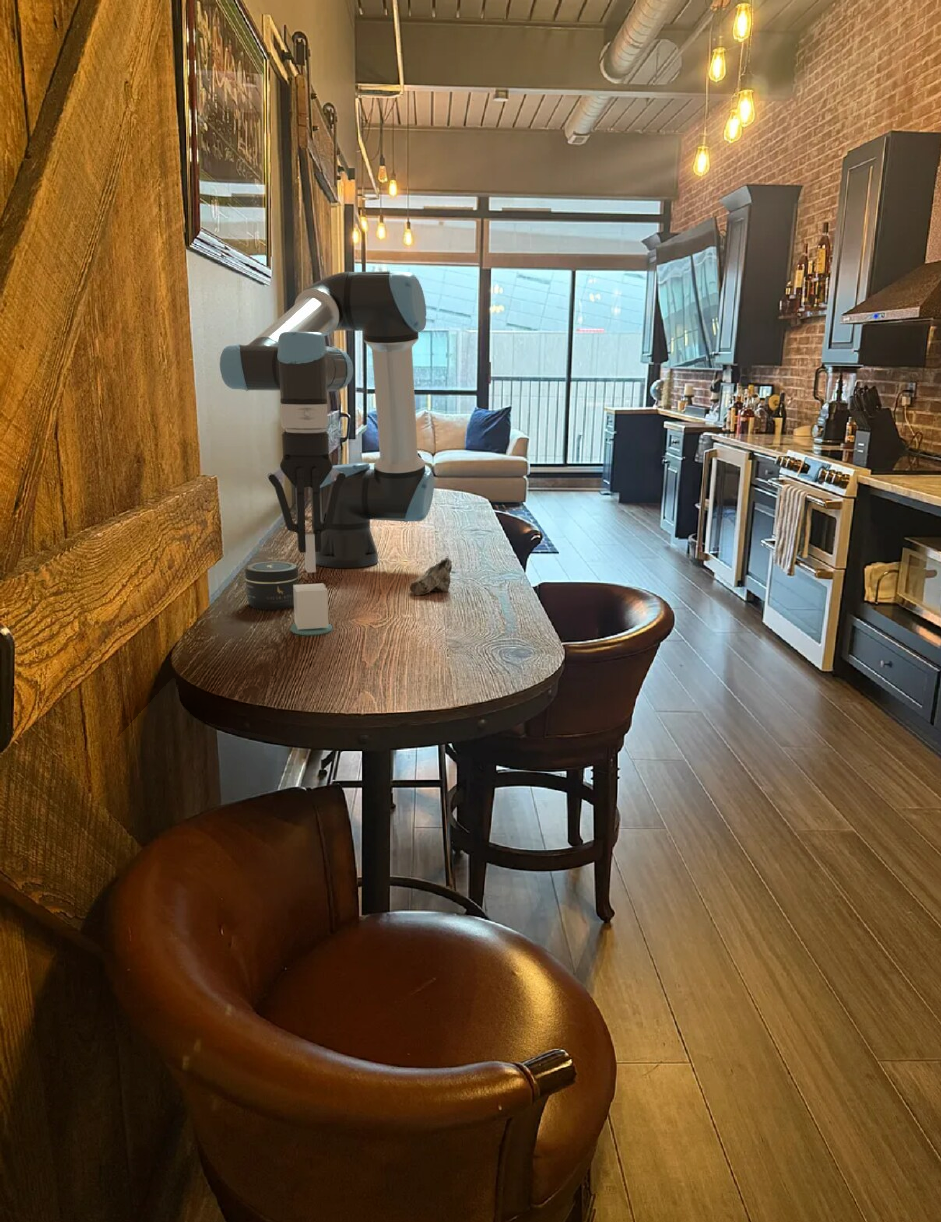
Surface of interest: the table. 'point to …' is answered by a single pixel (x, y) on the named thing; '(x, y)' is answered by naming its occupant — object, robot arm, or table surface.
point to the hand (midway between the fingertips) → (310, 570)
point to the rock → (434, 579)
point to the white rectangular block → (310, 606)
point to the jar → (271, 585)
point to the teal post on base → (311, 630)
